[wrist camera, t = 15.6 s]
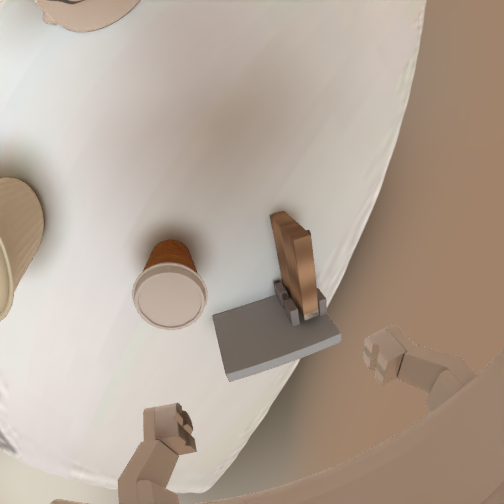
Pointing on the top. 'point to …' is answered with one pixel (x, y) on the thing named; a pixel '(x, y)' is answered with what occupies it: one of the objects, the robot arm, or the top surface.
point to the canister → (17, 236)
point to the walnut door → (296, 263)
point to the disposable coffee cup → (170, 288)
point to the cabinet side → (271, 334)
